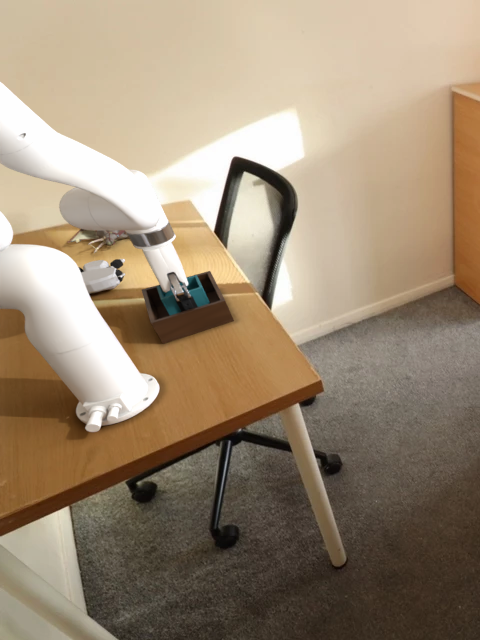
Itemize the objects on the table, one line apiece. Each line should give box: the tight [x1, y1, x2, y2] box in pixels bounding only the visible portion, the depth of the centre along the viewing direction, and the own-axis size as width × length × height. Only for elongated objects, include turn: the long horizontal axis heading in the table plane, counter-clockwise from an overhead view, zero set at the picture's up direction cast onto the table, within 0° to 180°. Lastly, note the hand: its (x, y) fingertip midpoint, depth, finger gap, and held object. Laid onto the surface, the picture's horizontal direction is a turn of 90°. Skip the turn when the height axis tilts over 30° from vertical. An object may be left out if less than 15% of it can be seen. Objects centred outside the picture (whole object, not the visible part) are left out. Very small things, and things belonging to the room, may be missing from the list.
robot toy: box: [78, 258, 126, 295], centre depth 116 cm, size 12×4×15 cm
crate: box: [141, 270, 235, 345], centre depth 106 cm, size 16×14×6 cm
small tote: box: [157, 274, 210, 315], centre depth 105 cm, size 8×6×6 cm
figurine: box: [67, 229, 129, 254], centre depth 134 cm, size 20×6×17 cm
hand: (188, 305), depth 107 cm, fingers closed on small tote, 6 cm apart
